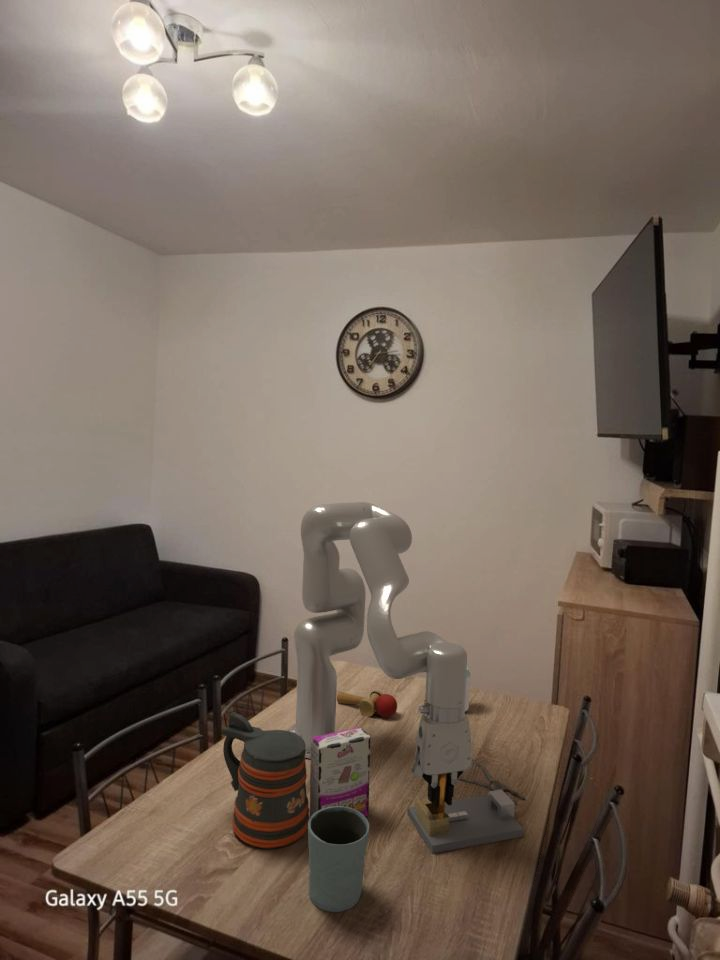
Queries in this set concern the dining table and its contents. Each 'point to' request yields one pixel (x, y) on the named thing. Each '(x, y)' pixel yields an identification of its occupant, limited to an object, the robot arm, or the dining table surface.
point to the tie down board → (469, 826)
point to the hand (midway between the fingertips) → (440, 801)
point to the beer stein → (267, 784)
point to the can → (467, 690)
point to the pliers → (492, 783)
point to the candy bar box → (340, 770)
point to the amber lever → (442, 800)
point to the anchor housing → (501, 804)
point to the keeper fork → (431, 818)
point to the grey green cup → (336, 857)
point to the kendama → (371, 703)
